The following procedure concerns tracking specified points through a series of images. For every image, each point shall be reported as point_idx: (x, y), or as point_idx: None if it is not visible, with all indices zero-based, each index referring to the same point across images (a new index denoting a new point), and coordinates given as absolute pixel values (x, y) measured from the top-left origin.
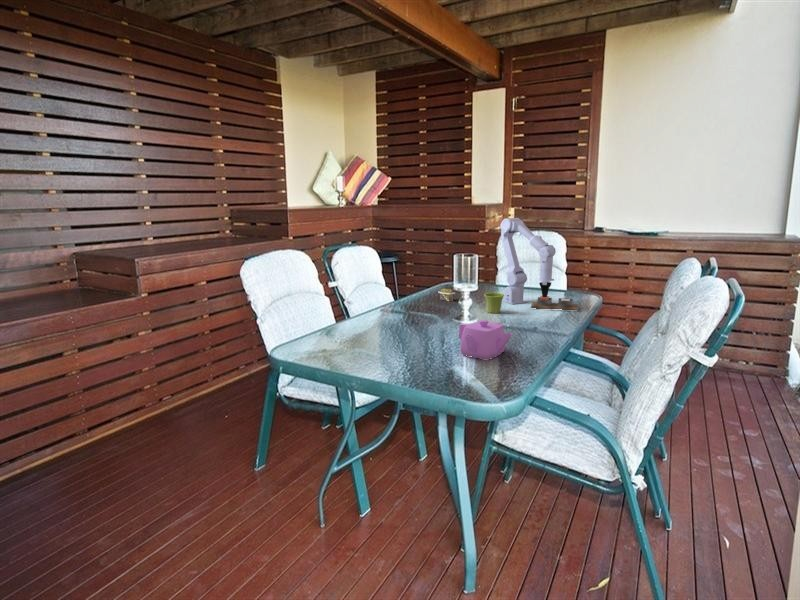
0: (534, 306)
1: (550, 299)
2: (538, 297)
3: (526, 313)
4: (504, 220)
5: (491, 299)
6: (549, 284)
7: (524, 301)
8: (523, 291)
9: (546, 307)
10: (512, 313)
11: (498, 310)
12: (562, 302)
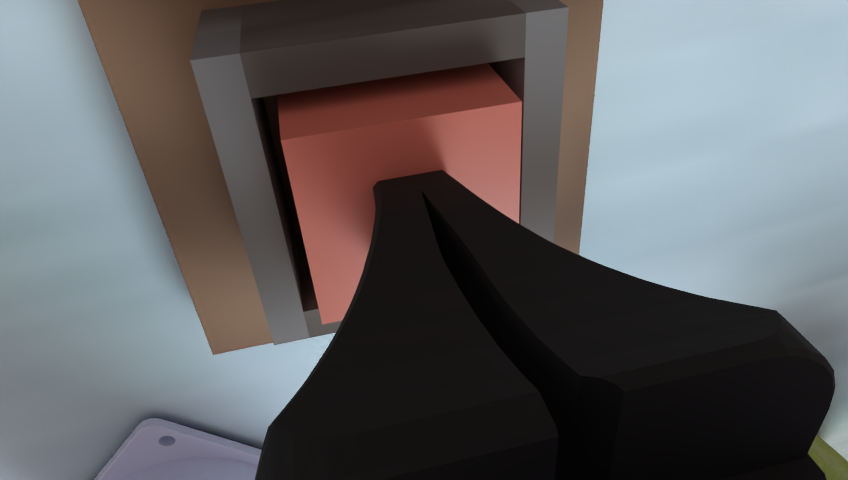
0: (578, 234)
1: (461, 45)
2: (328, 327)
3: (820, 225)
4: None
5: None
6: (829, 389)
7: (156, 449)
8: None
9: (593, 40)
10: (816, 339)
11: (832, 449)
12: None
